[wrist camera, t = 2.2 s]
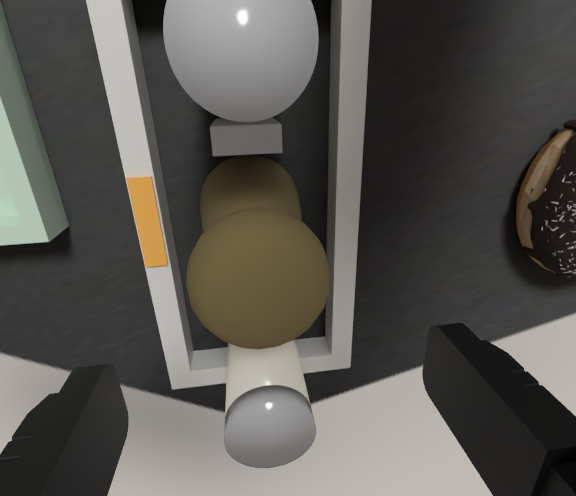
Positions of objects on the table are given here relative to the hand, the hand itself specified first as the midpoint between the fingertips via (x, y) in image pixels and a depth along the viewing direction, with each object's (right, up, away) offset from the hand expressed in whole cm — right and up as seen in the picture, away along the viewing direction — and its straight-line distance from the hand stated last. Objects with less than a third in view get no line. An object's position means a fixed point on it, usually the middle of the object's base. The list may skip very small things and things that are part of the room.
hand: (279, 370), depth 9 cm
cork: (-2, +6, +12) cm, 14 cm away
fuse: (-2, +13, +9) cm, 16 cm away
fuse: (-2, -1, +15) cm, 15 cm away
